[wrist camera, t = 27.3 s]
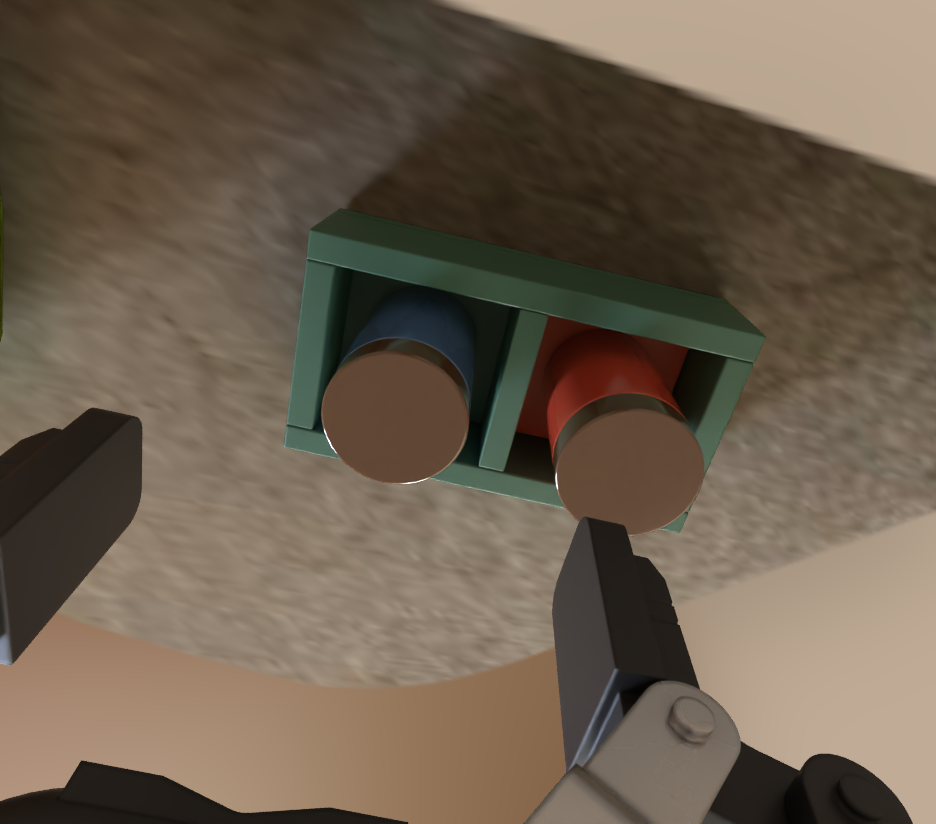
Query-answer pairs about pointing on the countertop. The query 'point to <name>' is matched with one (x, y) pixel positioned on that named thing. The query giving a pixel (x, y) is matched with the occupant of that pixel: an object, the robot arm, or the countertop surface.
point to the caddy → (509, 340)
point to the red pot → (618, 434)
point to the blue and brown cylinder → (404, 388)
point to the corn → (1, 265)
